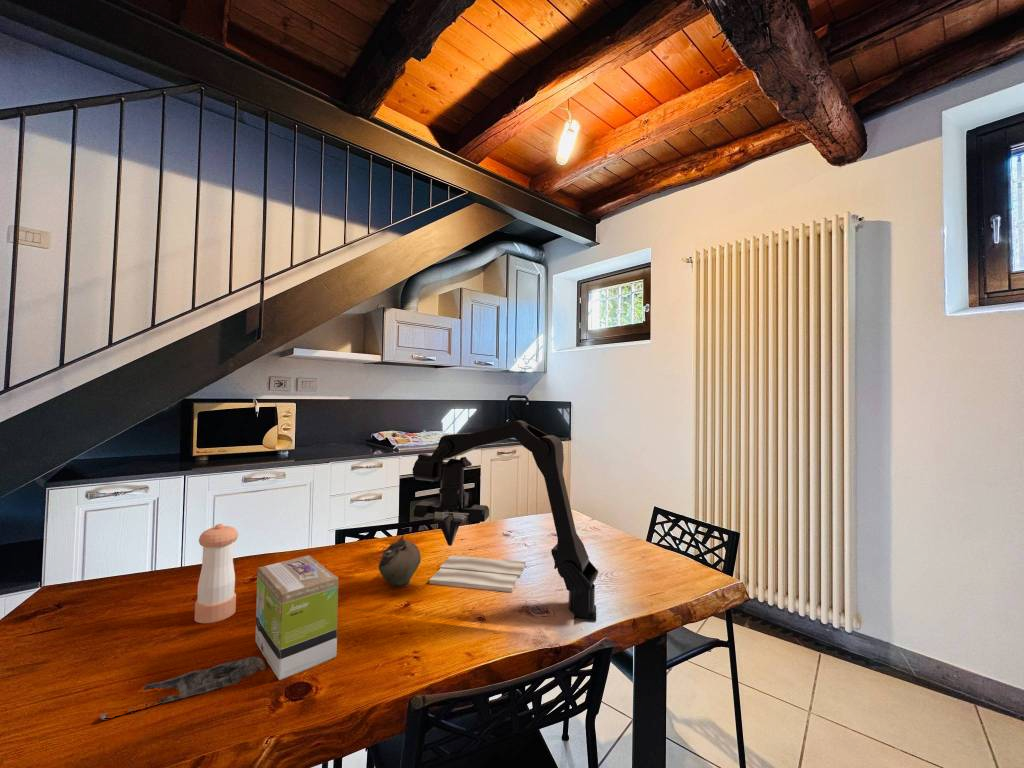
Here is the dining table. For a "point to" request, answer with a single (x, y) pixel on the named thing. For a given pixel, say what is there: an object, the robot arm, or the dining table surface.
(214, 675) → the driftwood
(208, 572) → the pepper shaker
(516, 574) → the beige flat panel
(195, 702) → the dining table surface
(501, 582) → the board
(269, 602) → the tea box
